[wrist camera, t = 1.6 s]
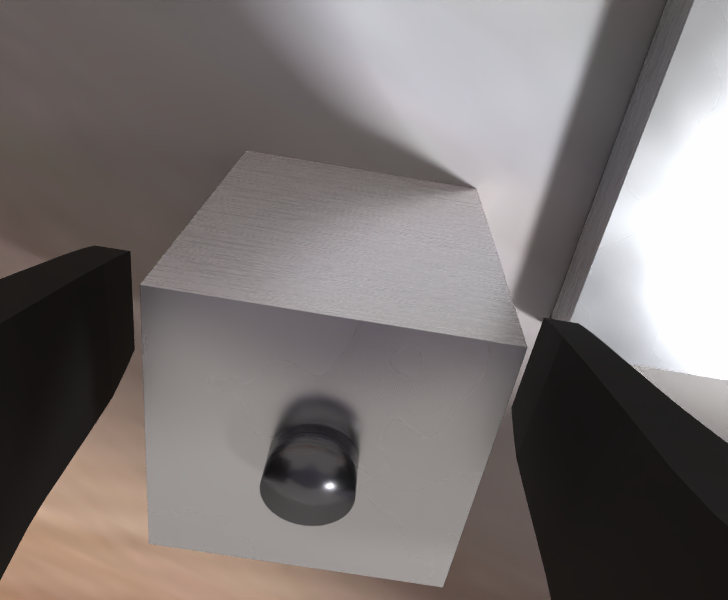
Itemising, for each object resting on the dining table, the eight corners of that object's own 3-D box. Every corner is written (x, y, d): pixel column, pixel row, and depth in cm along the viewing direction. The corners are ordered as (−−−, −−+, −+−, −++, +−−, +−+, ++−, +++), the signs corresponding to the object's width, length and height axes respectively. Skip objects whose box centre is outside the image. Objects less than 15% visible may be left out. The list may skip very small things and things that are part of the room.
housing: (428, 372, 14) (445, 625, 9) (235, 341, 14) (133, 579, 9) (476, 188, 12) (537, 378, 6) (247, 149, 12) (118, 312, 6)
